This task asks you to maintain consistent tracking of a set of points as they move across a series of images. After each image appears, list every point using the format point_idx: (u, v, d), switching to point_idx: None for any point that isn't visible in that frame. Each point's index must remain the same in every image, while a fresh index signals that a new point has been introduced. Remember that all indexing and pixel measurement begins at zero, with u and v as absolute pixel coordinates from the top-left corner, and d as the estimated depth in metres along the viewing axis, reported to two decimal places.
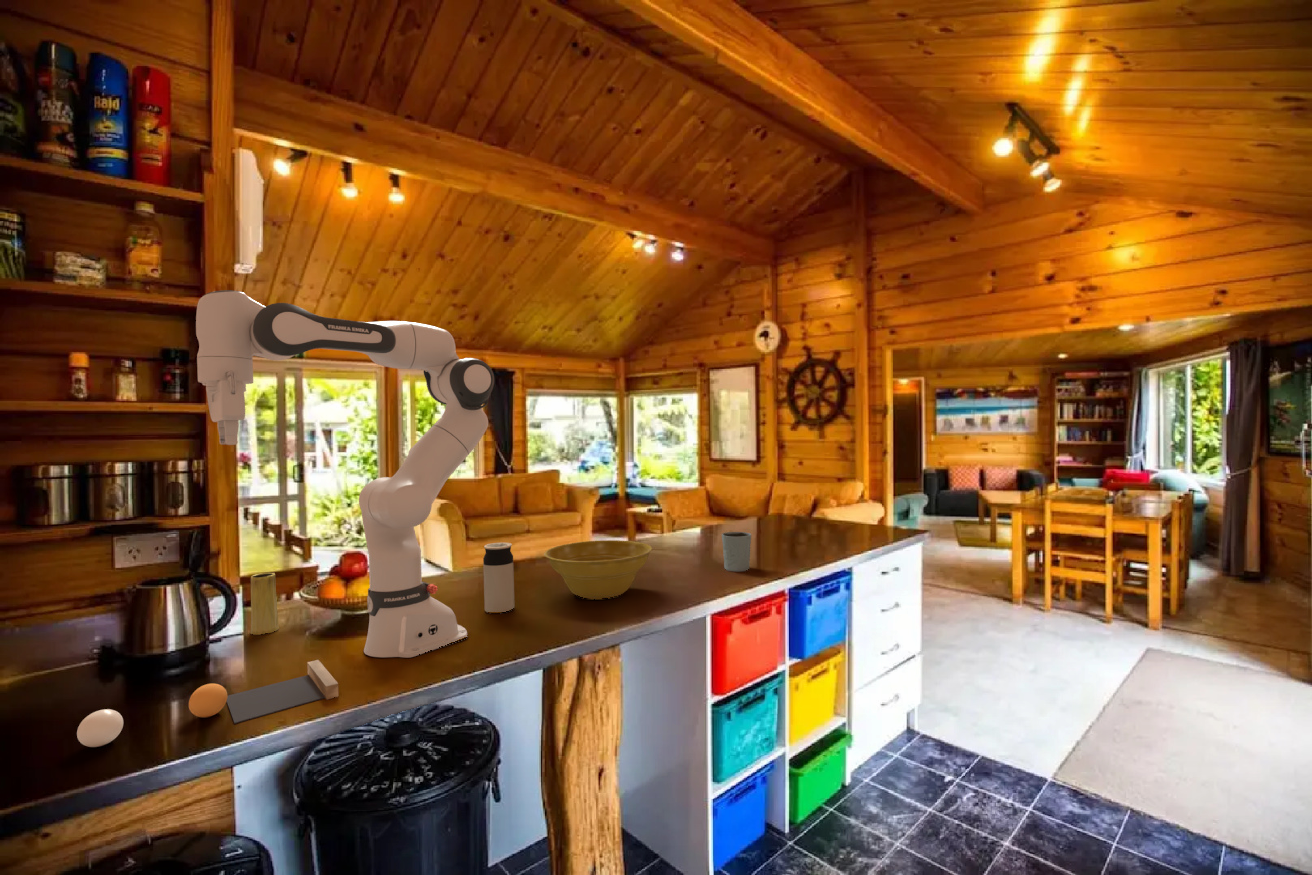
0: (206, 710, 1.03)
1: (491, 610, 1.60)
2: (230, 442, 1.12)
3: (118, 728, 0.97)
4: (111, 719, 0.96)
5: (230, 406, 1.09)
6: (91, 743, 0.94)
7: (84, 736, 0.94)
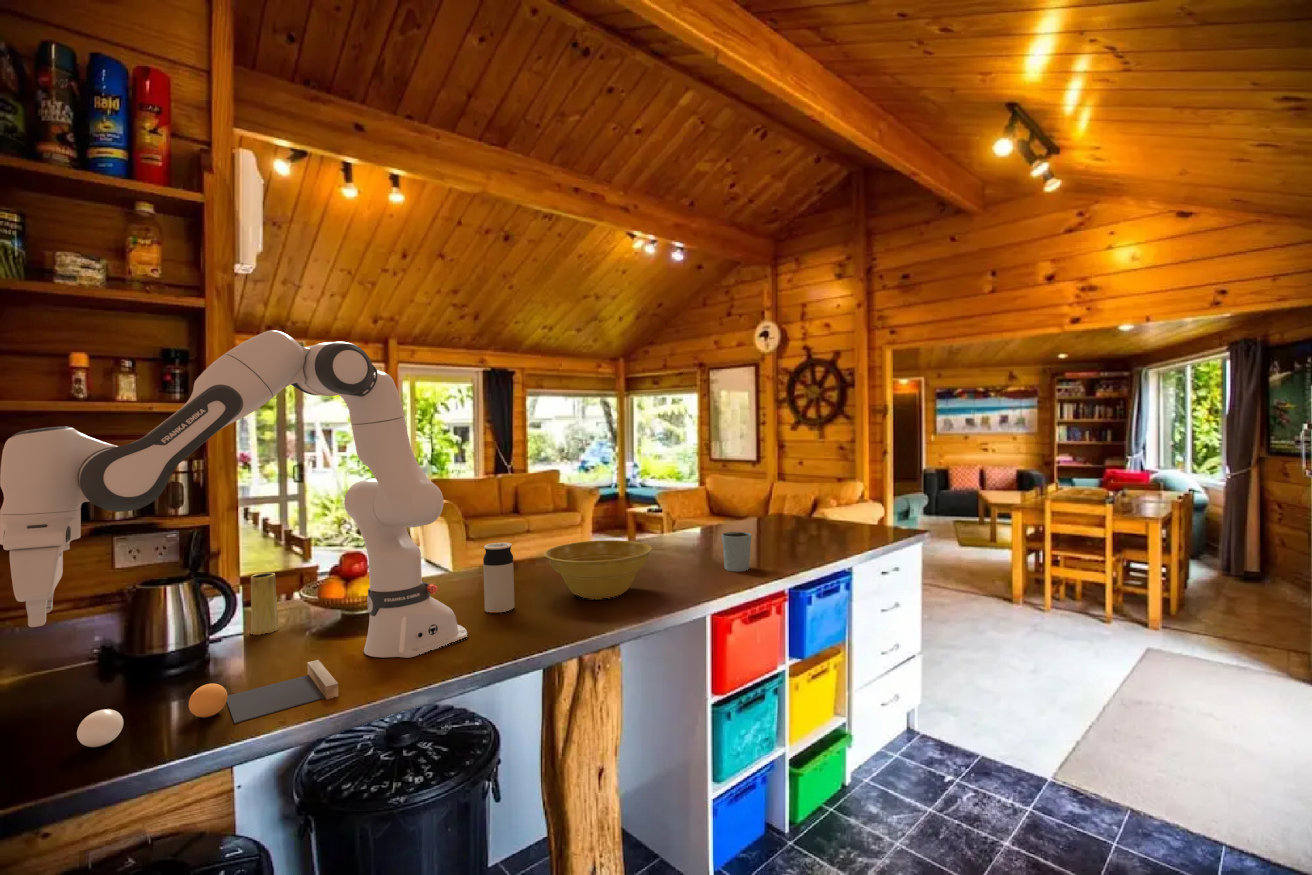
0: (206, 710, 1.03)
1: (491, 610, 1.60)
2: None
3: (118, 728, 0.97)
4: (111, 719, 0.96)
5: None
6: (91, 743, 0.94)
7: (84, 736, 0.94)
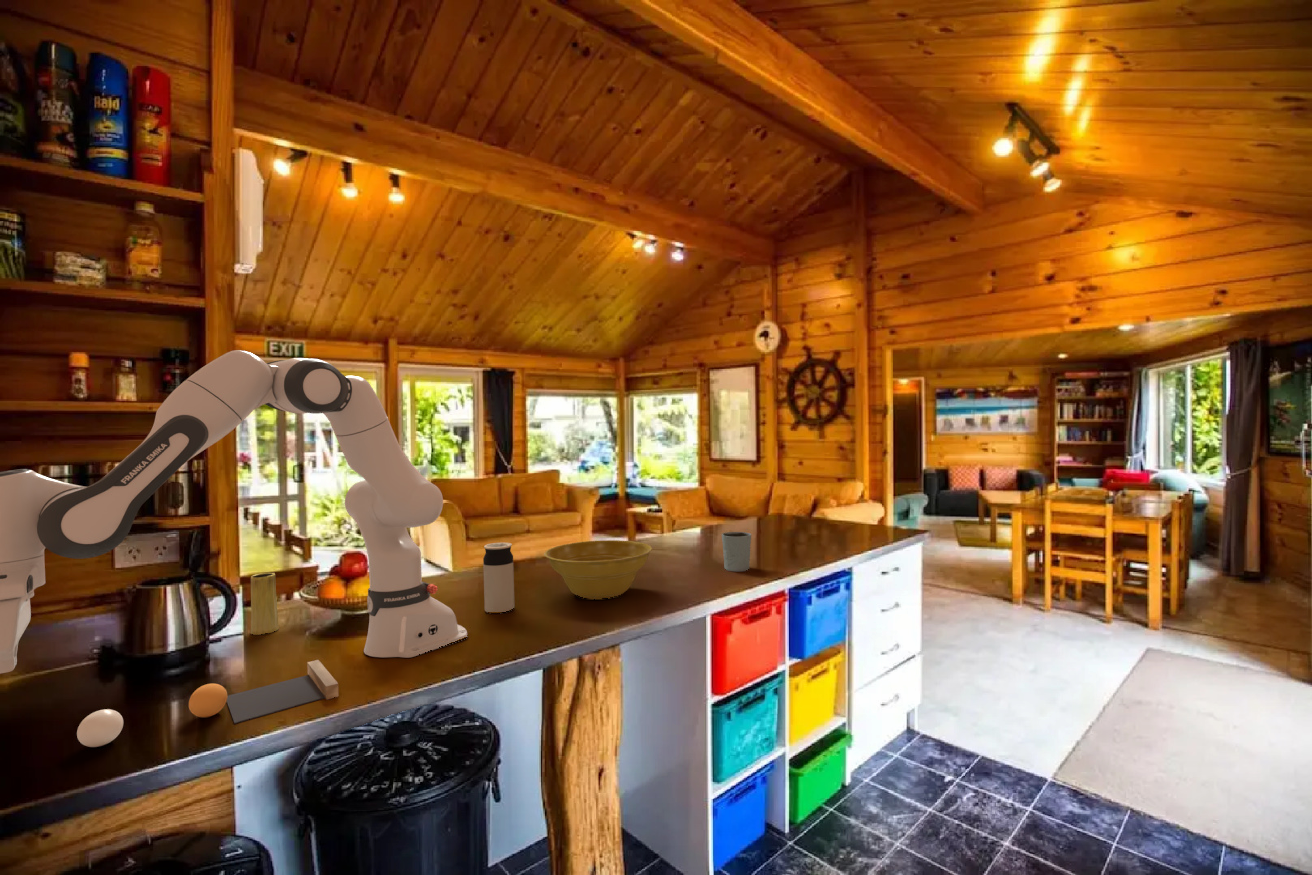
0: (206, 710, 1.03)
1: (491, 610, 1.60)
2: None
3: (118, 728, 0.97)
4: (111, 719, 0.96)
5: None
6: (91, 743, 0.94)
7: (84, 736, 0.94)
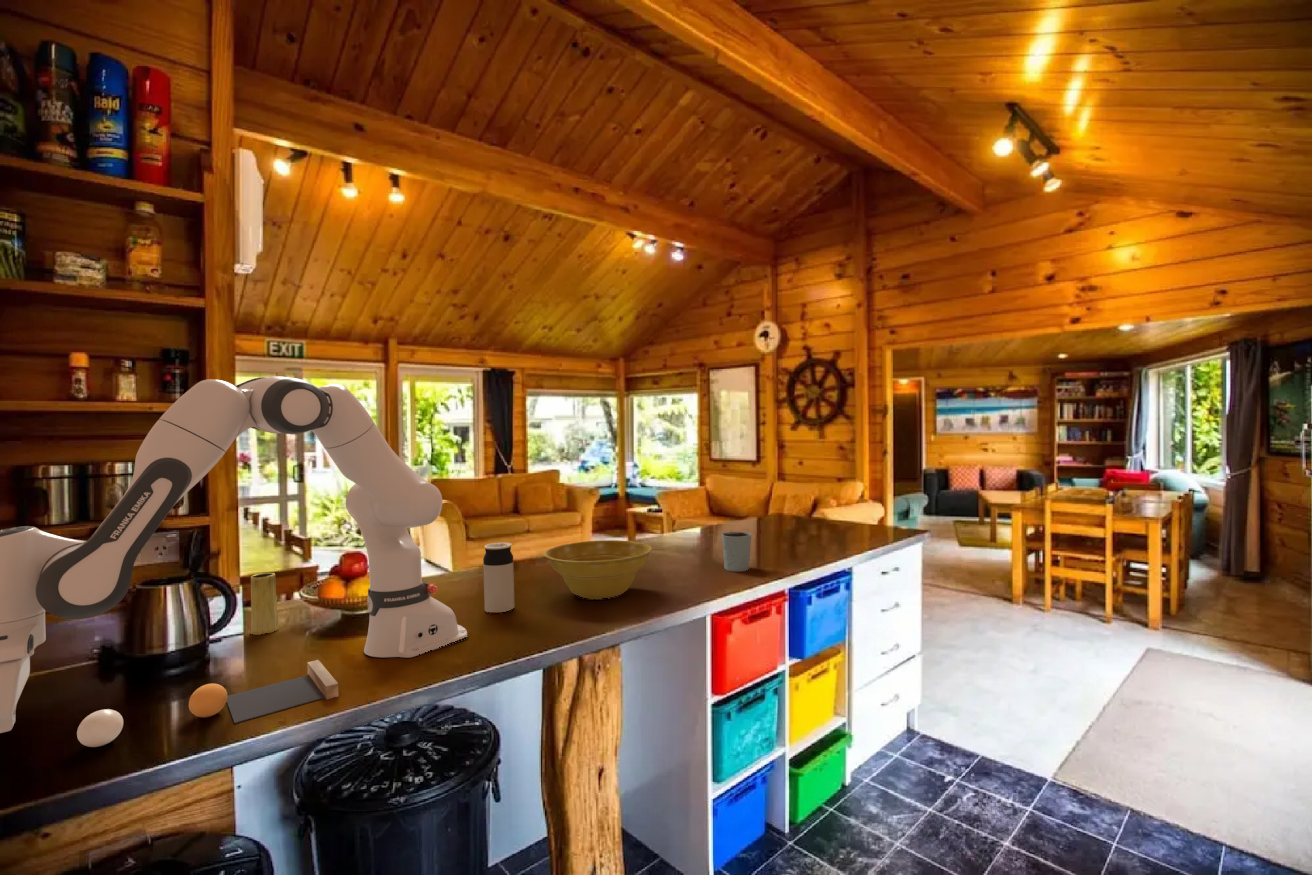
0: (206, 710, 1.03)
1: (491, 610, 1.60)
2: None
3: (118, 728, 0.97)
4: (111, 719, 0.96)
5: None
6: (91, 743, 0.94)
7: (84, 736, 0.94)
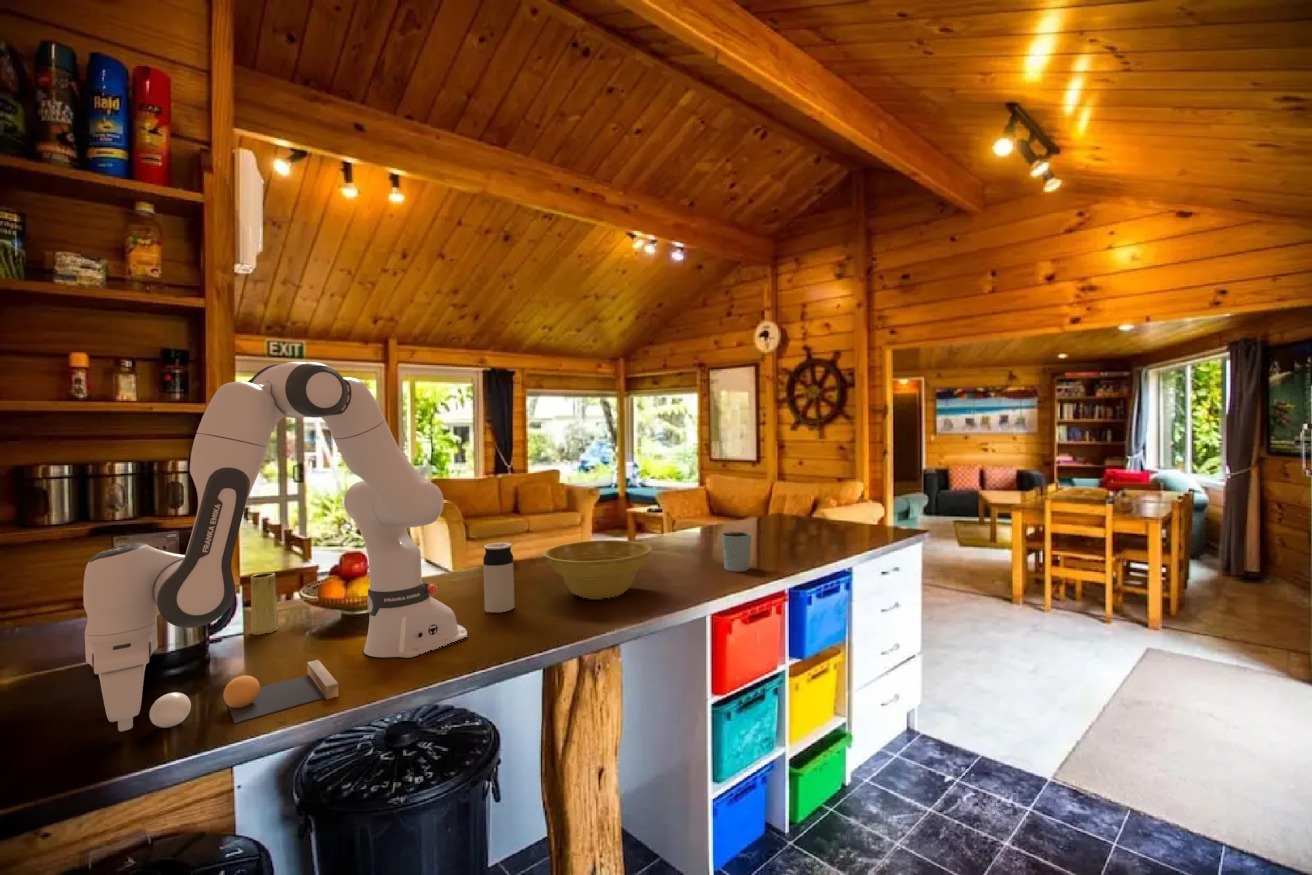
0: (238, 693, 1.06)
1: (491, 610, 1.60)
2: None
3: (154, 718, 0.99)
4: (163, 726, 1.00)
5: None
6: (176, 703, 1.01)
7: (184, 708, 1.02)
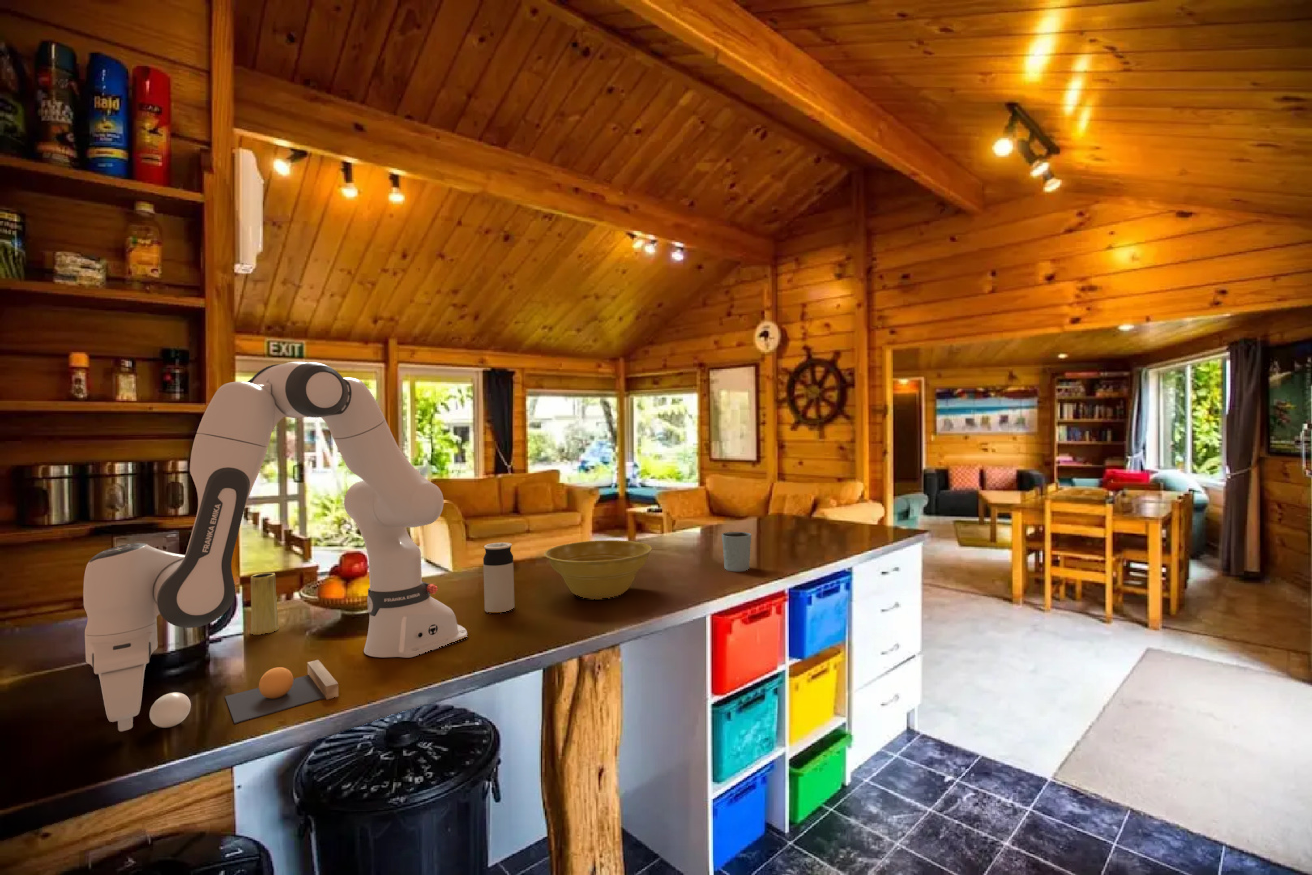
0: (284, 683, 1.11)
1: (491, 610, 1.60)
2: None
3: (154, 718, 0.99)
4: (163, 726, 1.00)
5: None
6: (176, 703, 1.01)
7: (184, 708, 1.02)
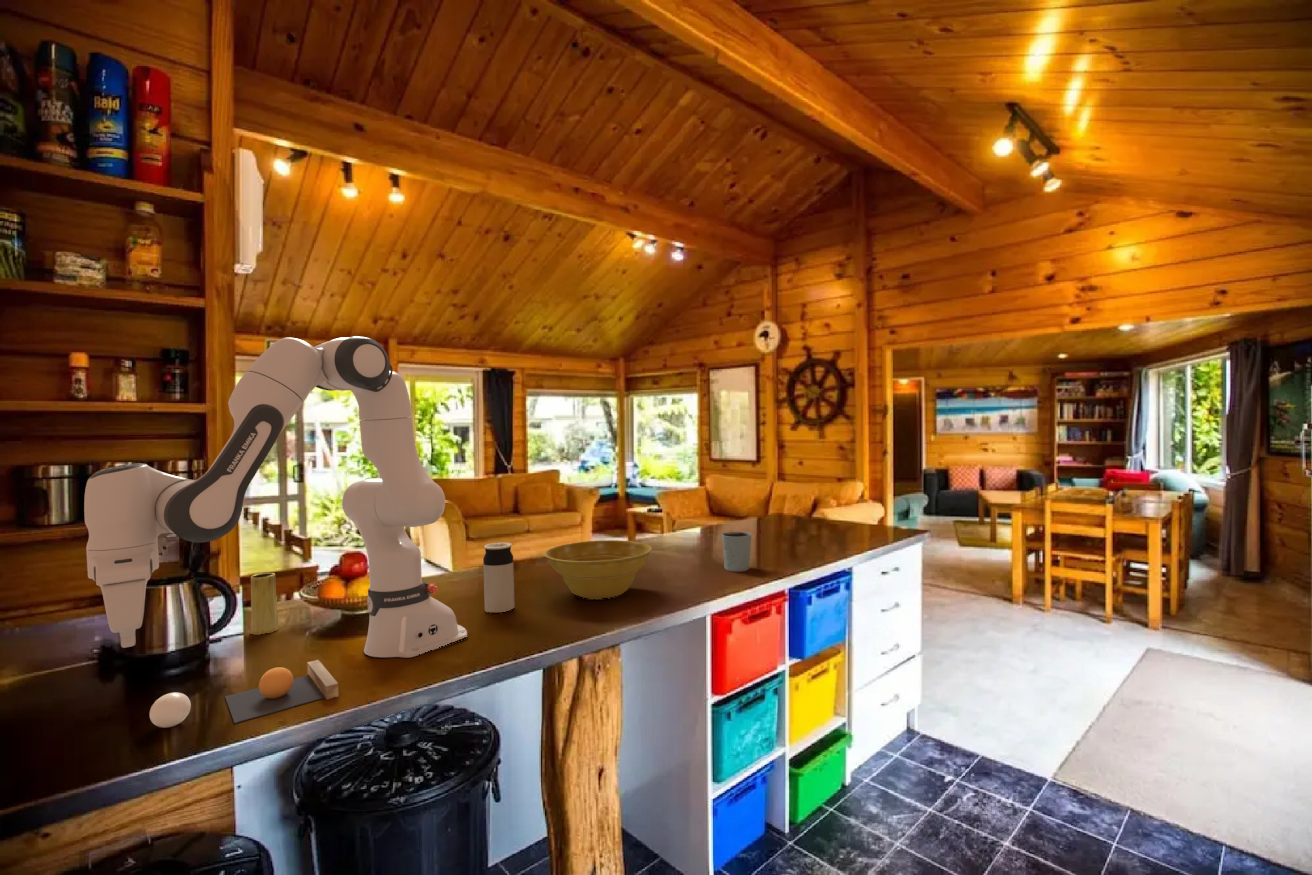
0: (284, 683, 1.11)
1: (491, 610, 1.60)
2: None
3: (154, 718, 0.99)
4: (163, 726, 1.00)
5: None
6: (176, 703, 1.01)
7: (184, 708, 1.02)
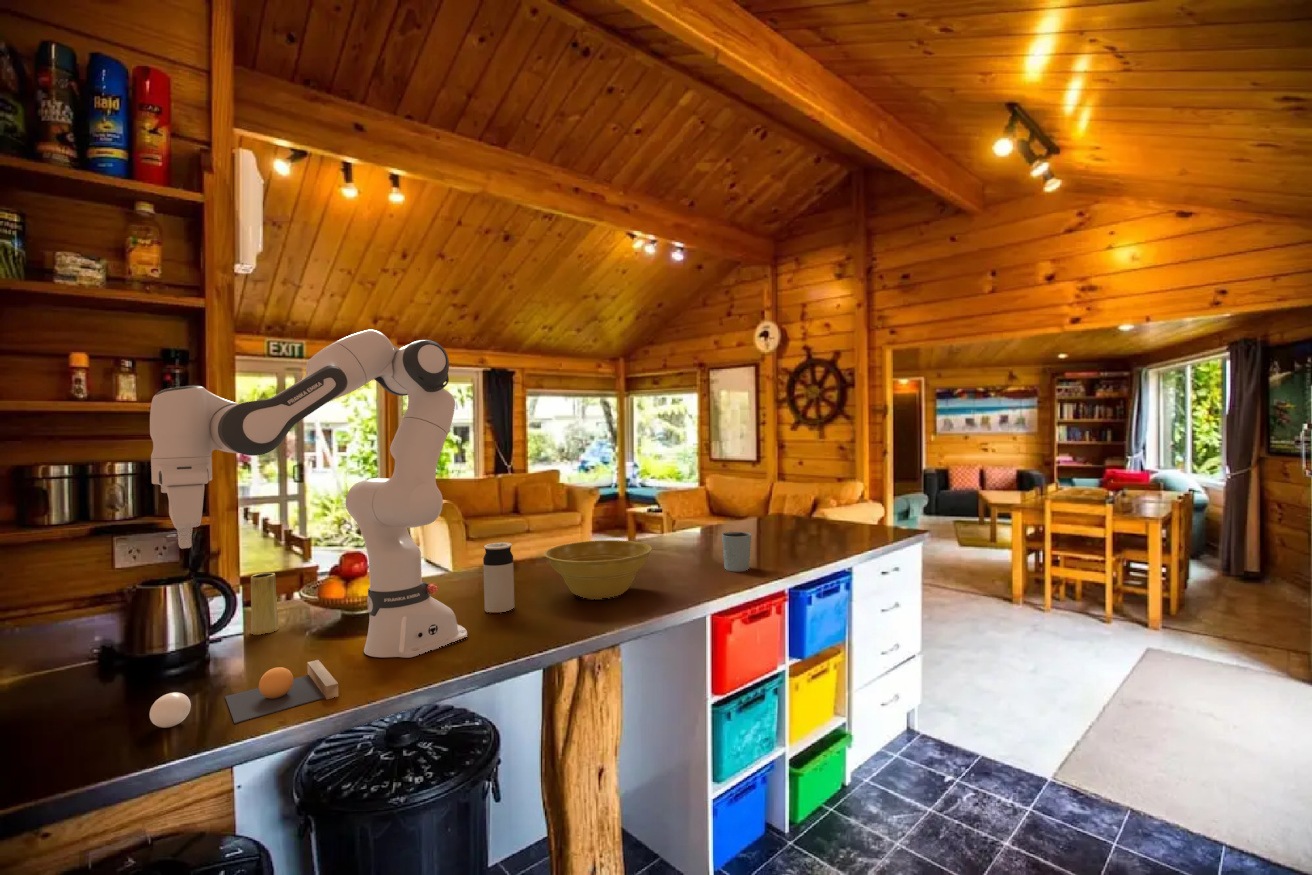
0: (284, 683, 1.11)
1: (491, 610, 1.60)
2: None
3: (154, 718, 0.99)
4: (163, 726, 1.00)
5: None
6: (176, 703, 1.01)
7: (184, 708, 1.02)
